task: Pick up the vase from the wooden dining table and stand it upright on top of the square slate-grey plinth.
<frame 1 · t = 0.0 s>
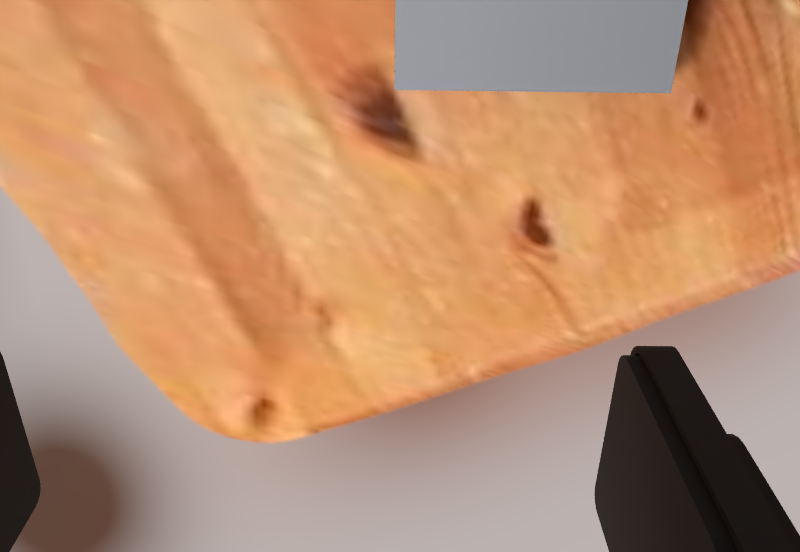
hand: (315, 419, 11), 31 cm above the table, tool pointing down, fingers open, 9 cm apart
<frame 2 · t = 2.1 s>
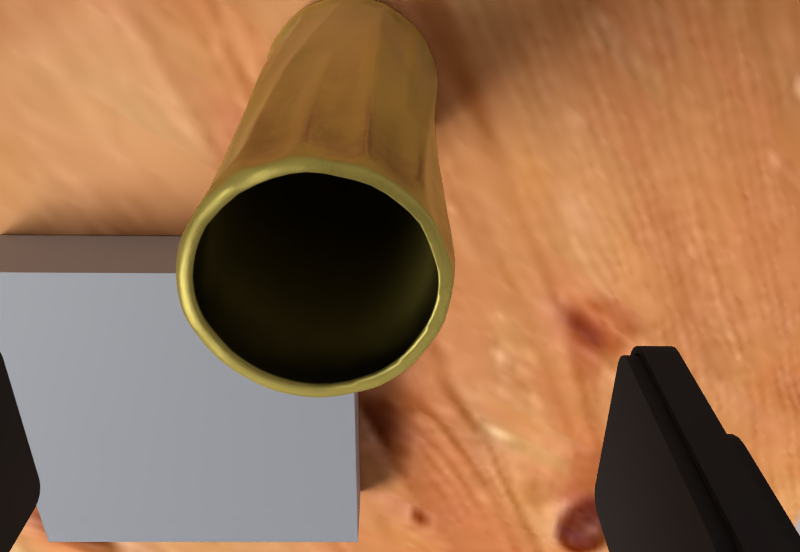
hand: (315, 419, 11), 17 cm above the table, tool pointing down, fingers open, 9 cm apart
vase: (352, 84, 26), on the table
plinth: (199, 377, 32), on the table
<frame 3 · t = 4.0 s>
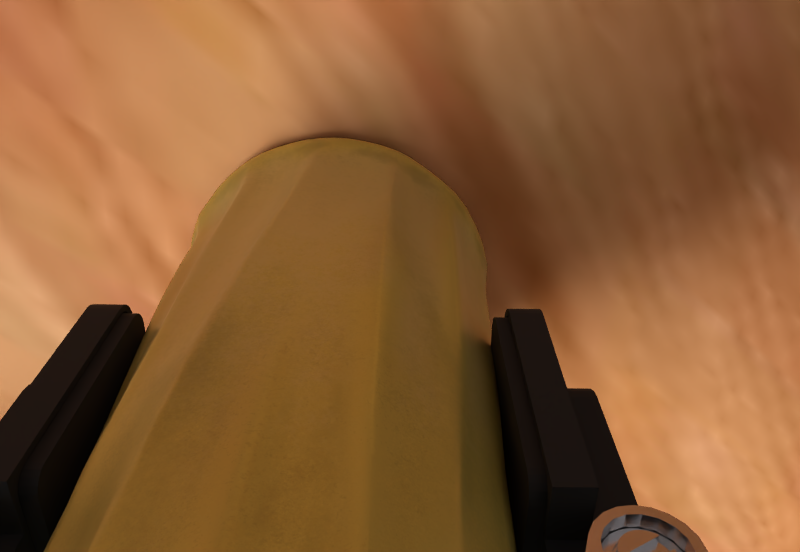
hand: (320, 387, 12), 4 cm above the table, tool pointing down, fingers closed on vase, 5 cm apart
vase: (340, 271, 15), on the table, touching gripper
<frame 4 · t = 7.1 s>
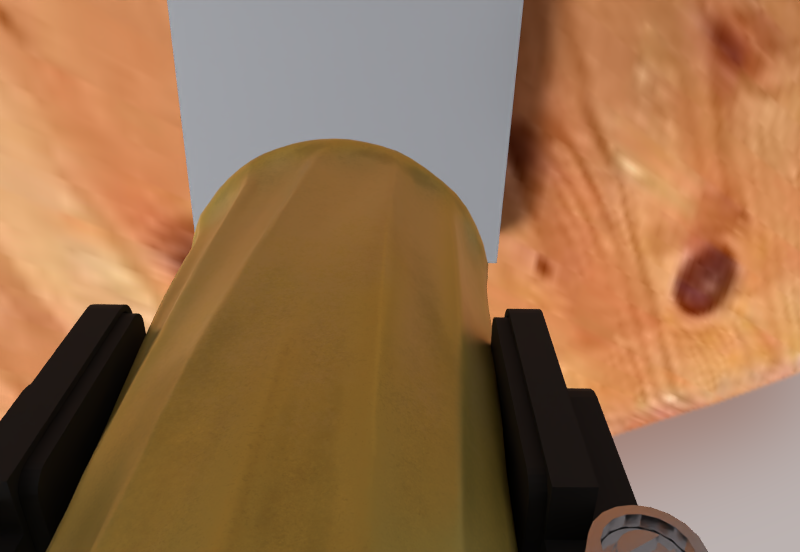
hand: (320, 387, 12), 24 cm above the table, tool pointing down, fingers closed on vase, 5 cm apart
vase: (341, 272, 15), point 20 cm above the table, touching gripper
plinth: (350, 93, 33), on the table
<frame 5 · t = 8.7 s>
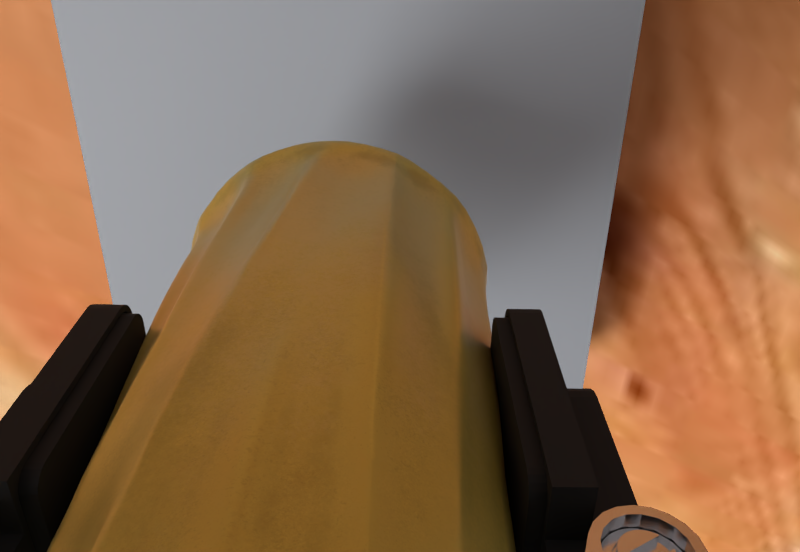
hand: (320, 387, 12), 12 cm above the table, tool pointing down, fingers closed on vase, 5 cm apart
vase: (340, 274, 16), point 8 cm above the table, touching gripper
plinth: (358, 154, 22), on the table
when the fingers open (8 cm above the table, at t = 10.3 s): vase stays where it is, resting on plinth.
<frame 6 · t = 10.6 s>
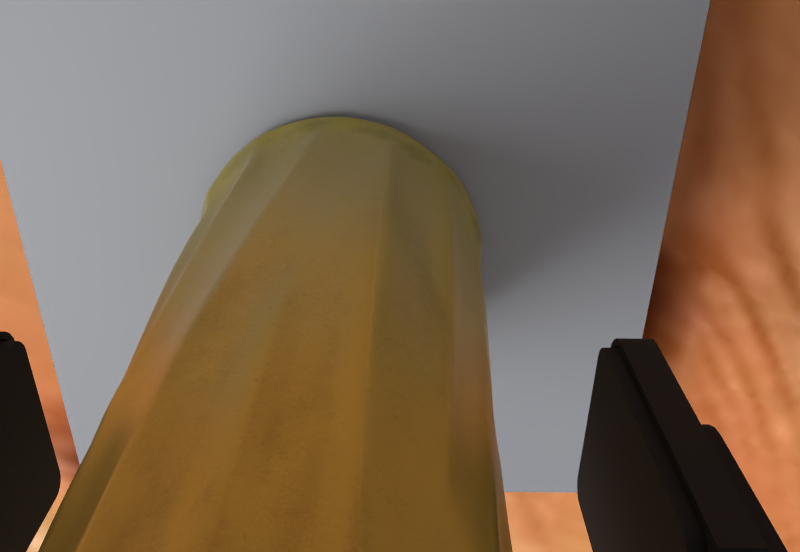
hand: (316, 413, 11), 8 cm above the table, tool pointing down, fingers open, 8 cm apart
vase: (342, 246, 16), point 3 cm above the table, touching plinth
plinth: (350, 203, 19), on the table
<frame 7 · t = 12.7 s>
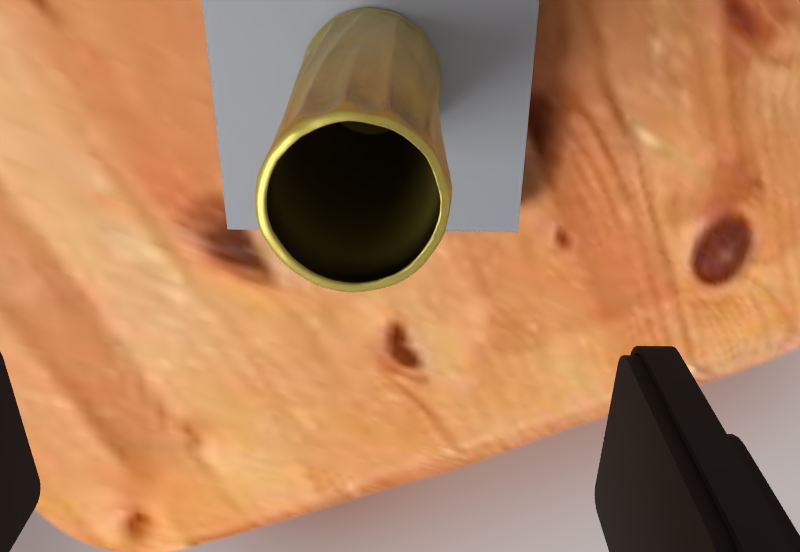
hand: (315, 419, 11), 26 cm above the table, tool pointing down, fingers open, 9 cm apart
vase: (371, 80, 32), point 3 cm above the table, touching plinth
plinth: (373, 69, 35), on the table
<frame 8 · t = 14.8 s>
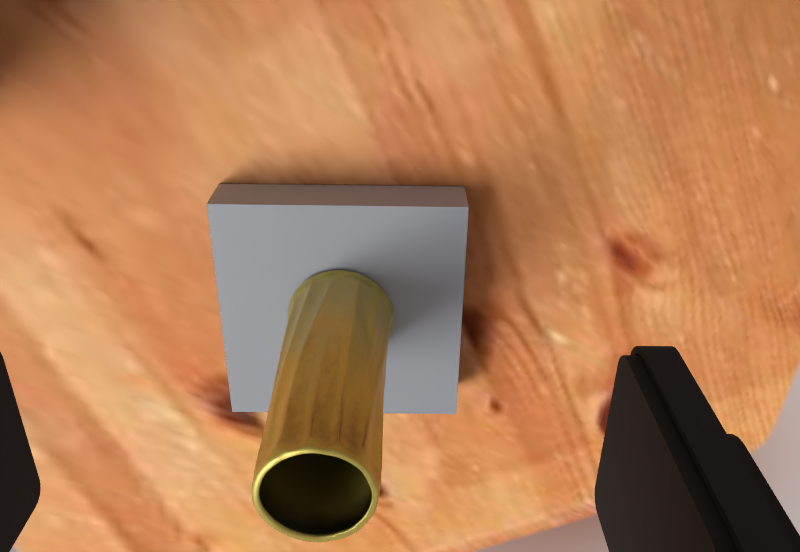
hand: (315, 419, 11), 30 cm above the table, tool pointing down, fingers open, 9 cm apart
vase: (341, 313, 42), point 3 cm above the table, touching plinth
plinth: (344, 291, 45), on the table
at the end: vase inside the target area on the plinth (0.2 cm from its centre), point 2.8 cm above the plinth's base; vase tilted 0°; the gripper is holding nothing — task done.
